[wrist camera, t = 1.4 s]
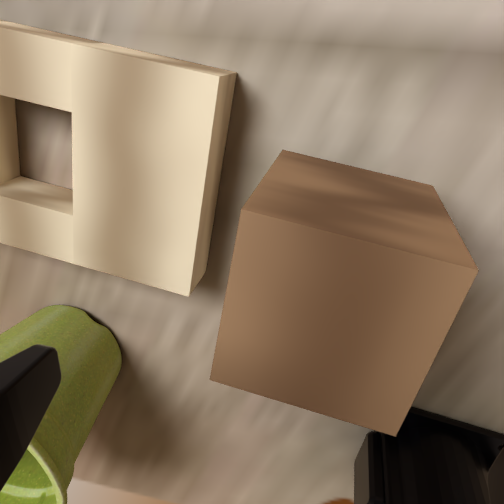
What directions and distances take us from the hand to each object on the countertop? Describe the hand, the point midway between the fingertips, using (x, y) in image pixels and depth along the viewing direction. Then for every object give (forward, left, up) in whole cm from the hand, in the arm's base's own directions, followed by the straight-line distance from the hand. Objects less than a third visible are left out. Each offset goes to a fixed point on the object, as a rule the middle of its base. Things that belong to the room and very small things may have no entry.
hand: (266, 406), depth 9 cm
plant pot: (+12, +12, -12) cm, 21 cm away
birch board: (+13, 0, -12) cm, 17 cm away
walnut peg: (-1, 0, -12) cm, 12 cm away
